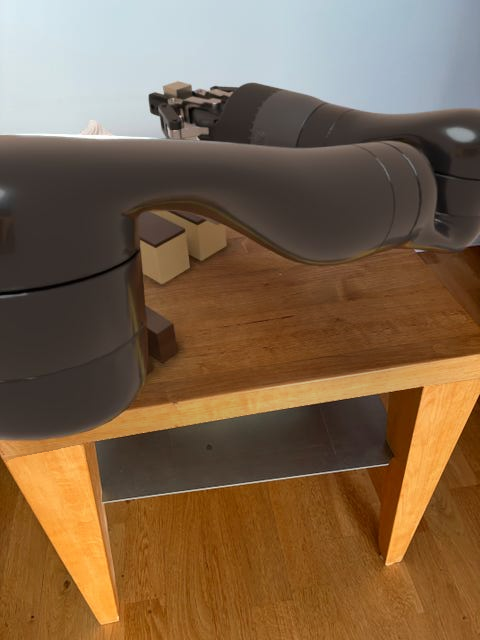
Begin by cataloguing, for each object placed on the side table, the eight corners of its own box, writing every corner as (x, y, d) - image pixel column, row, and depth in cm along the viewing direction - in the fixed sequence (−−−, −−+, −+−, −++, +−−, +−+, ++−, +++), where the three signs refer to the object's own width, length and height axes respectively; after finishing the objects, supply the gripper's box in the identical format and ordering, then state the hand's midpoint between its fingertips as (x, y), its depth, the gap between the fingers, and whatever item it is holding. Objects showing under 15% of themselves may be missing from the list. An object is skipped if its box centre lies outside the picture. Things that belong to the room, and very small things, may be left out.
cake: (226, 245, 82) (224, 207, 78) (161, 284, 75) (154, 244, 70) (163, 215, 91) (158, 179, 86) (99, 247, 83) (90, 210, 79)
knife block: (178, 352, 64) (173, 323, 60) (136, 382, 60) (128, 352, 57) (130, 319, 69) (123, 290, 66) (88, 345, 65) (79, 316, 62)
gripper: (230, 197, 45) (117, 151, 55) (322, 150, 53) (209, 116, 62) (225, 112, 40) (102, 77, 50) (327, 73, 48) (203, 49, 57)
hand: (162, 99), depth 56 cm, fingers closed
